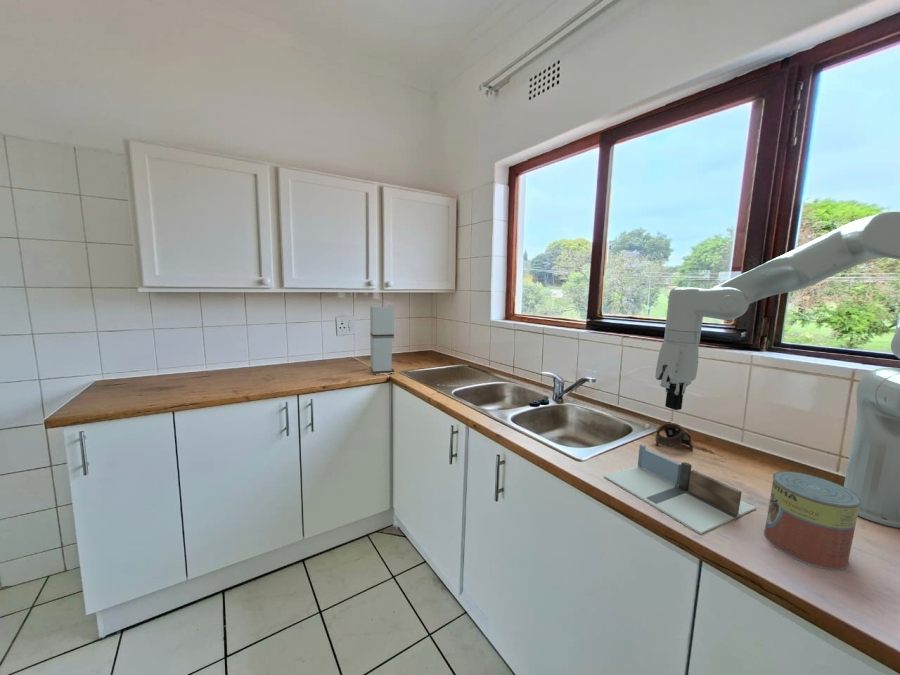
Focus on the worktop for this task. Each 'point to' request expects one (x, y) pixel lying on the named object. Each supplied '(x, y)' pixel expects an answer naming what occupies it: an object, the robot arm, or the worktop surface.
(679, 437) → the brown open ring frame
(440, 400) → the worktop surface
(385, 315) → the grooved grey pillar
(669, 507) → the card
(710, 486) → the fixed fence section
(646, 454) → the hinged fence panel
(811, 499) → the canned food
